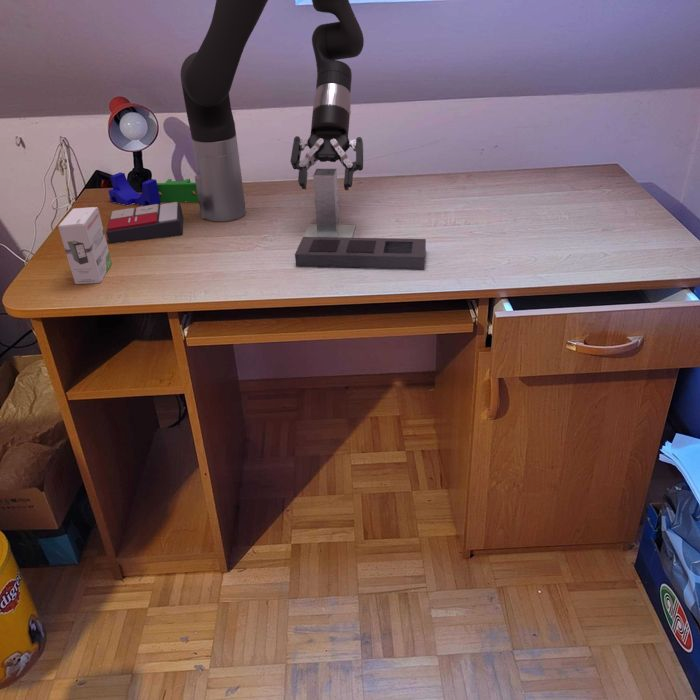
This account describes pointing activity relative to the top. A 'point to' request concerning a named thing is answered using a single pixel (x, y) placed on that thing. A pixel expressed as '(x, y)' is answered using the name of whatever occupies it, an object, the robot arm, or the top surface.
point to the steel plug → (326, 202)
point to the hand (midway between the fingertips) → (324, 188)
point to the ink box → (85, 245)
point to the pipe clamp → (178, 191)
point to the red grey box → (145, 223)
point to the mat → (344, 232)
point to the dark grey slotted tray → (361, 253)
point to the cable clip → (133, 191)
